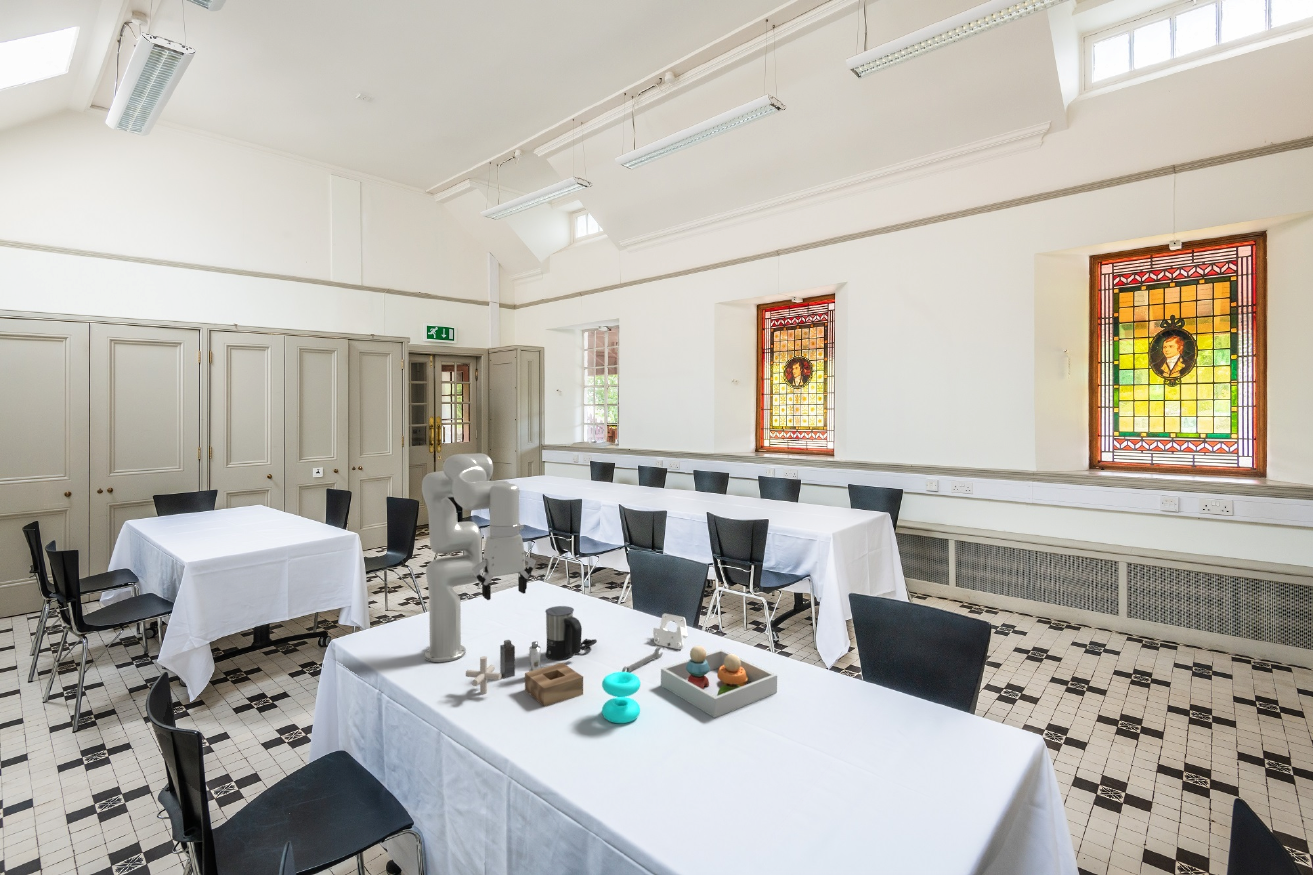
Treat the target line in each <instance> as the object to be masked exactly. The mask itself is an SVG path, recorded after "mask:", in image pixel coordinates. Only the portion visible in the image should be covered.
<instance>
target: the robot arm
mask: <svg viewBox="0 0 1313 875" xmlns="http://www.w3.org/2000/svg"><path fill="white" fill-rule="evenodd" d="M493 471H494V464H493V461H492V458H490V456H489V455H488V454H485V453H481V452H478V453H458V454H457V453H456V454H453V455H450V456H449V457H447V458H446V459H445V460H444V462H443V465H442V470H440V471H433V472H429V473H427V474H426V475H424V477H423V478H422V481H421V494H422V496H423V499H424V502H425V505H426V509H427V512H428V514H427V515H428V531H429V545H430V549H431V551H432V552H433V553H435V554H438V555H440V554H451V553H458V552H464V554H463V555H454V556H453V555H452V556H446V557H441V558H440V557H439V558H437V559H434V560H432V561H430V562H429V563H428V564H427V565H426V567H425V568H426V569H425V576H426V582H427V589H428V596H429V597H428V601H429V605H428V606H429V608H428V609H429V611H428V612H429V648H428V649H426V650H425V652H424V659H425V660H427V661H429V662H433V663H444V662H445V663H446V662H451V661H455V660H458V659H460V658H462V657H464V655H465V654H466V652H467V649H466V647H465V646H464V645H462V643H461V638H462V637H461V634H462V633H461V628H462V627H461V625H462V624H461V623H462V621H461V620H462V618H461V616H462V615H461V614H462V613H461V611H462V610H461V598H460V596H459V595H458V593H457V592H456V591H454V590H453V588H454V587H459V586H463V585H469V584H475V583H477V582H479V583H481V596H482V597H483V599H486V600H487V601H490V600H491V599H492V591H491V590H492V587H491V586H492V585H491V584H490V582H491V581H492V579H493V578H495V577H500V576H506V575H507V576H508V575H513V574H519V575H518V581H517V582H518V583H517V584H518V588H517V589H518V592H519V593H521V594H526V590H527V589H528V587H527V586H528V585H527V584H528V583H527V582H528V581H527V580H528V578H529V576H530V574H531V573H532V572H533V571H534V570H533V569H534V567H535V565H536V563H537V560H536V559H533V557H530V556H527V555H525V546H524V540H523V537H522V534H521V531H522V530H525V525H524V524H521V523H520V489H519V486H518V485H517V484H515V483H510V481H507V480H503V479H502V480H500V479H499V480H490V479H491V478H492V475H493V473H494V472H493ZM449 498H453V499H454V501H455V503H456V504H457V505H458V506H460V507H461V508H462V509H464V510H466V511H479V510H480V511H481V510H487V509H488V510H489V536H486V539H485V542H484V549H483V551H482V548H483V546H482V535H481V530H480V527H479V526H478V525H477V523H476V522H474V521H470V520H469V521H459V522H458V521H457V508H456V505H455V504H454V503H453V502H452V501H451V499H449ZM526 563H527V566H526ZM483 572H484V575H483Z"/></svg>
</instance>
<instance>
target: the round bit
mask: <svg viewBox="0 0 1313 875" xmlns="http://www.w3.org/2000/svg"><path fill="white" fill-rule="evenodd" d="M528 648H529V649H528V650H529V651H528V652H529V654H528V655H529V656H528V657H529V658H528V661H529V665H528V672H530V671H534V670H537V669H541V646H540V645H539V642H538V641H532V642H531V646H529V647H528Z"/></svg>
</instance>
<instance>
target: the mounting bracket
mask: <svg viewBox="0 0 1313 875" xmlns="http://www.w3.org/2000/svg"><path fill="white" fill-rule="evenodd" d="M670 622H675V624H676V625H677V626H676V630H675V631H670V630H669V629H667V626H668V624H669V623H670ZM652 631H653V632H652V633H653V641H654V644H655V645H658V646H661V647H667V648H671V649H676V650H683V649H684V639H687V638H688V636H689V635H688V628H687V621H686V618H685V617H684V616H680V615H675V614H671V613H662V615H661V620H660V625H659V628H656V627H654V628H653V630H652Z"/></svg>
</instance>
